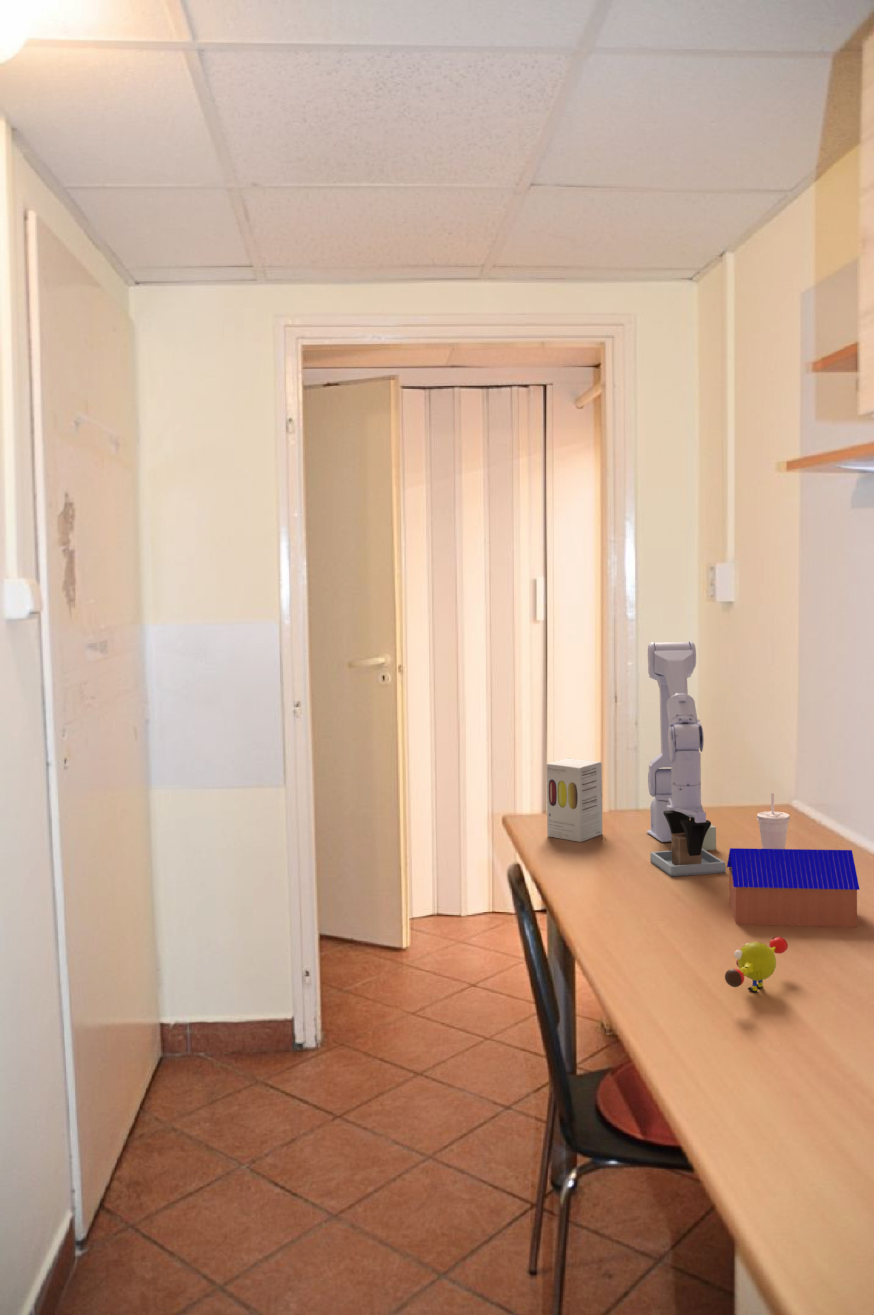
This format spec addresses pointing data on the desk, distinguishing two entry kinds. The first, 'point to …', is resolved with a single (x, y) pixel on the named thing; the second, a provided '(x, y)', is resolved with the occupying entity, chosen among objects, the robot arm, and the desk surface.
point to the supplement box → (574, 799)
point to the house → (793, 887)
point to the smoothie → (773, 827)
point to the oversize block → (710, 839)
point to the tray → (706, 867)
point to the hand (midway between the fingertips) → (686, 850)
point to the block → (682, 851)
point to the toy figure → (755, 962)
